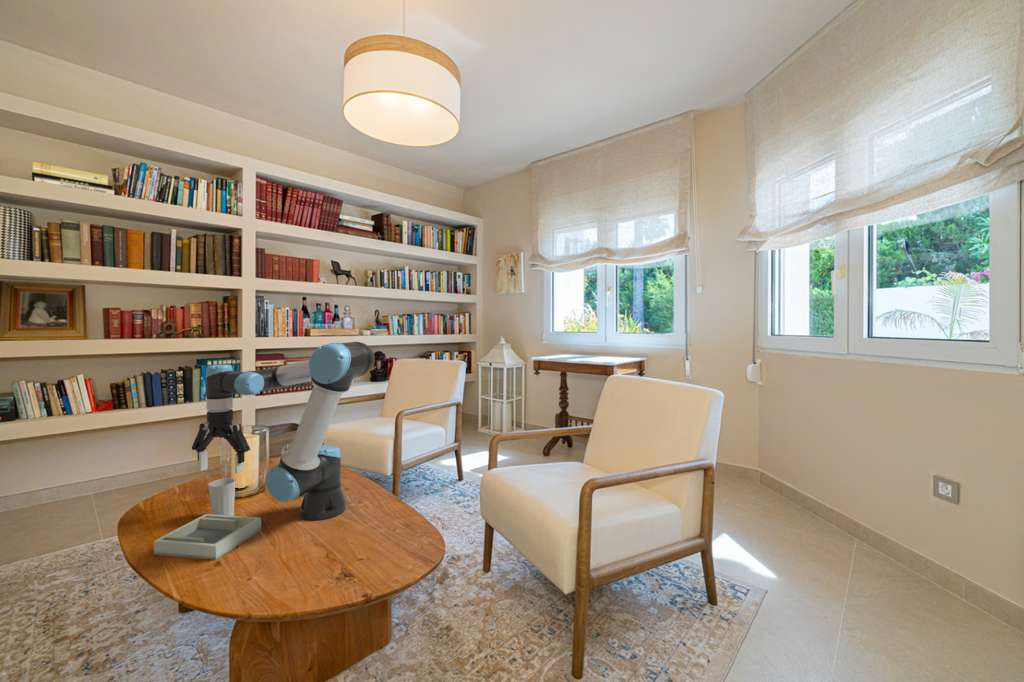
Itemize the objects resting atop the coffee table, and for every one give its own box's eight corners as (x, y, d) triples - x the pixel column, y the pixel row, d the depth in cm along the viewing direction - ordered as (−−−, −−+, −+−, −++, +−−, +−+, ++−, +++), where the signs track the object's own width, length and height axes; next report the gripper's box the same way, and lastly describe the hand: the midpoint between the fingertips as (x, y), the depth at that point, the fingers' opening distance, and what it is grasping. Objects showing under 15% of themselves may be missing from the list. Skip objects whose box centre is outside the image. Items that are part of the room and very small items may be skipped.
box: (261, 529, 140) (261, 517, 140) (216, 559, 123) (215, 546, 122) (206, 525, 143) (205, 513, 143) (154, 554, 125) (153, 541, 125)
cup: (242, 511, 154) (241, 478, 153) (225, 522, 146) (224, 487, 145) (221, 510, 154) (220, 477, 154) (203, 521, 146) (202, 486, 146)
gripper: (260, 409, 150) (261, 469, 151) (196, 406, 154) (198, 465, 155) (244, 413, 143) (245, 476, 144) (177, 410, 146) (179, 472, 147)
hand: (221, 471), depth 149 cm, fingers open, 13 cm apart
